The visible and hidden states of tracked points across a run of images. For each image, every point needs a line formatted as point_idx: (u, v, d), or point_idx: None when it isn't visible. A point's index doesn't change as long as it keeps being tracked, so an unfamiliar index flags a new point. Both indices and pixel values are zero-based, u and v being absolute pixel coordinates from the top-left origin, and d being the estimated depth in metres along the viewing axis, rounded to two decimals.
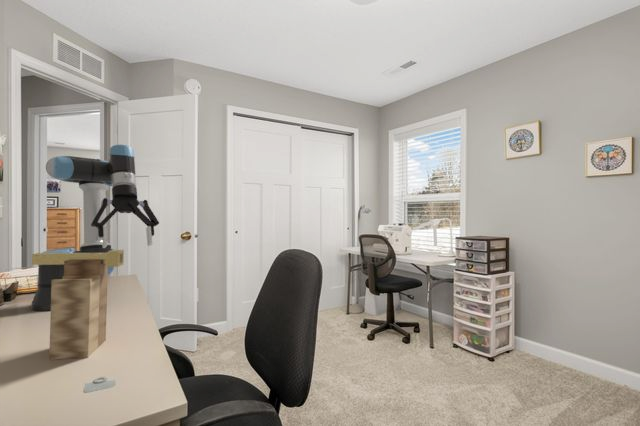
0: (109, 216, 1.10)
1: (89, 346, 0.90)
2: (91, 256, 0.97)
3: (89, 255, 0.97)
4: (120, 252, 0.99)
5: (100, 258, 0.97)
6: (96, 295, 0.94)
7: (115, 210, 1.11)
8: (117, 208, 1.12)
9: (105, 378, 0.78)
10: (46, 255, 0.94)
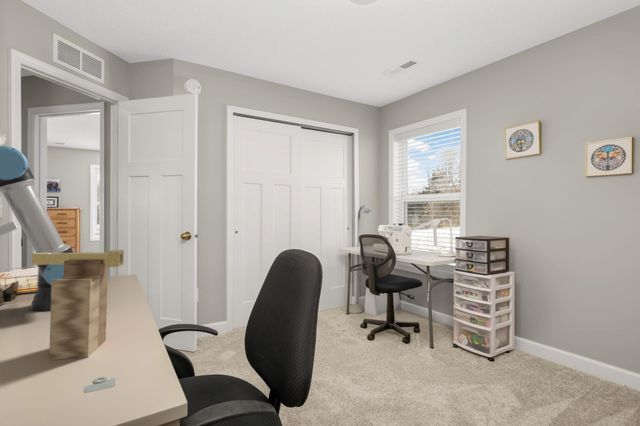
0: None
1: (89, 346, 0.90)
2: (91, 256, 0.97)
3: (89, 255, 0.97)
4: (120, 252, 0.99)
5: (100, 258, 0.97)
6: (96, 295, 0.94)
7: None
8: None
9: (105, 378, 0.78)
10: (46, 255, 0.94)
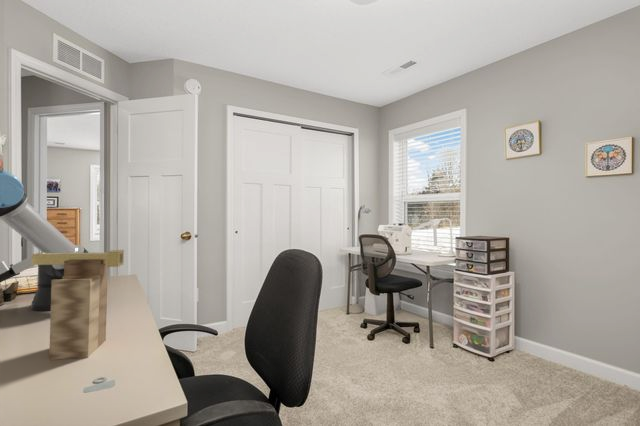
0: (0, 280, 0.97)
1: (89, 346, 0.90)
2: (91, 256, 0.97)
3: (89, 255, 0.97)
4: (120, 252, 0.99)
5: (100, 258, 0.97)
6: (96, 295, 0.94)
7: None
8: None
9: (105, 378, 0.78)
10: (46, 255, 0.94)
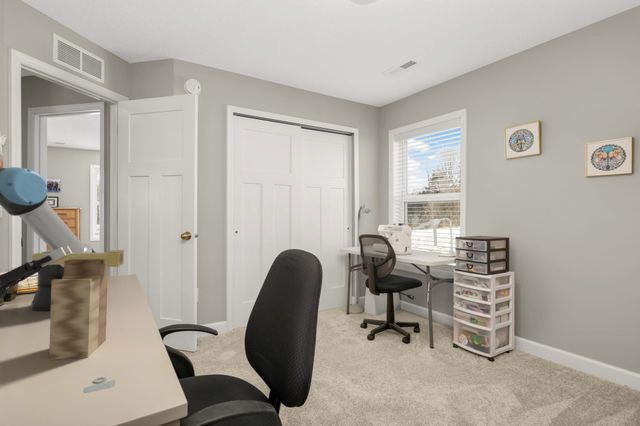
0: (35, 272, 0.96)
1: (89, 346, 0.90)
2: (91, 256, 0.97)
3: (90, 255, 0.97)
4: (120, 252, 0.99)
5: (100, 258, 0.97)
6: (96, 295, 0.94)
7: (25, 278, 0.95)
8: (22, 280, 0.95)
9: (105, 378, 0.78)
10: None
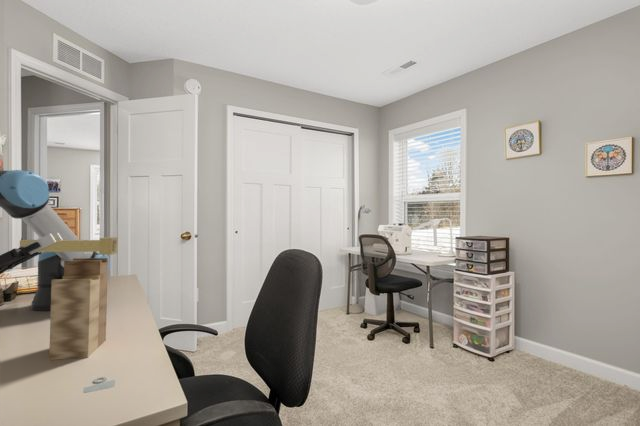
0: (23, 260, 0.91)
1: (89, 346, 0.90)
2: (82, 243, 0.91)
3: (81, 242, 0.91)
4: (113, 239, 0.94)
5: (91, 245, 0.92)
6: (96, 295, 0.94)
7: (12, 266, 0.90)
8: (9, 268, 0.90)
9: (105, 378, 0.78)
10: None
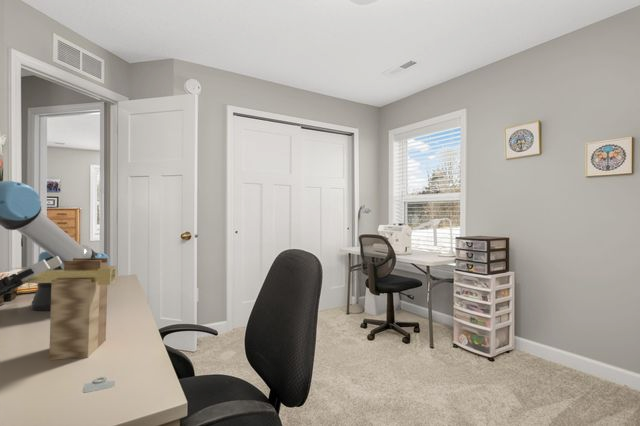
0: None
1: (89, 346, 0.90)
2: (80, 273, 0.91)
3: (79, 272, 0.91)
4: (112, 269, 0.93)
5: (90, 276, 0.91)
6: (96, 295, 0.94)
7: (11, 290, 0.90)
8: (7, 292, 0.89)
9: (105, 378, 0.78)
10: None
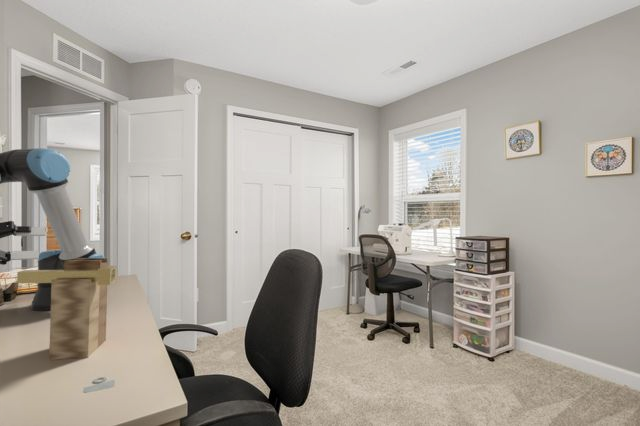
0: None
1: (89, 346, 0.90)
2: (80, 273, 0.91)
3: (79, 272, 0.91)
4: (112, 269, 0.93)
5: (90, 276, 0.91)
6: (96, 295, 0.94)
7: None
8: None
9: (105, 378, 0.78)
10: (32, 273, 0.88)
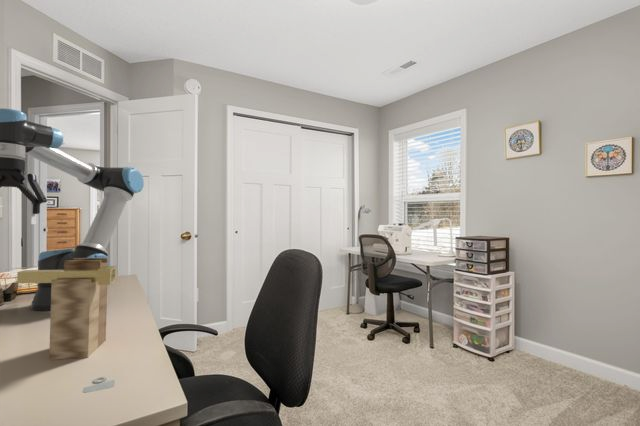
0: None
1: (89, 346, 0.90)
2: (80, 273, 0.91)
3: (79, 272, 0.91)
4: (112, 269, 0.93)
5: (90, 276, 0.91)
6: (96, 295, 0.94)
7: None
8: None
9: (104, 378, 0.78)
10: (32, 273, 0.88)
